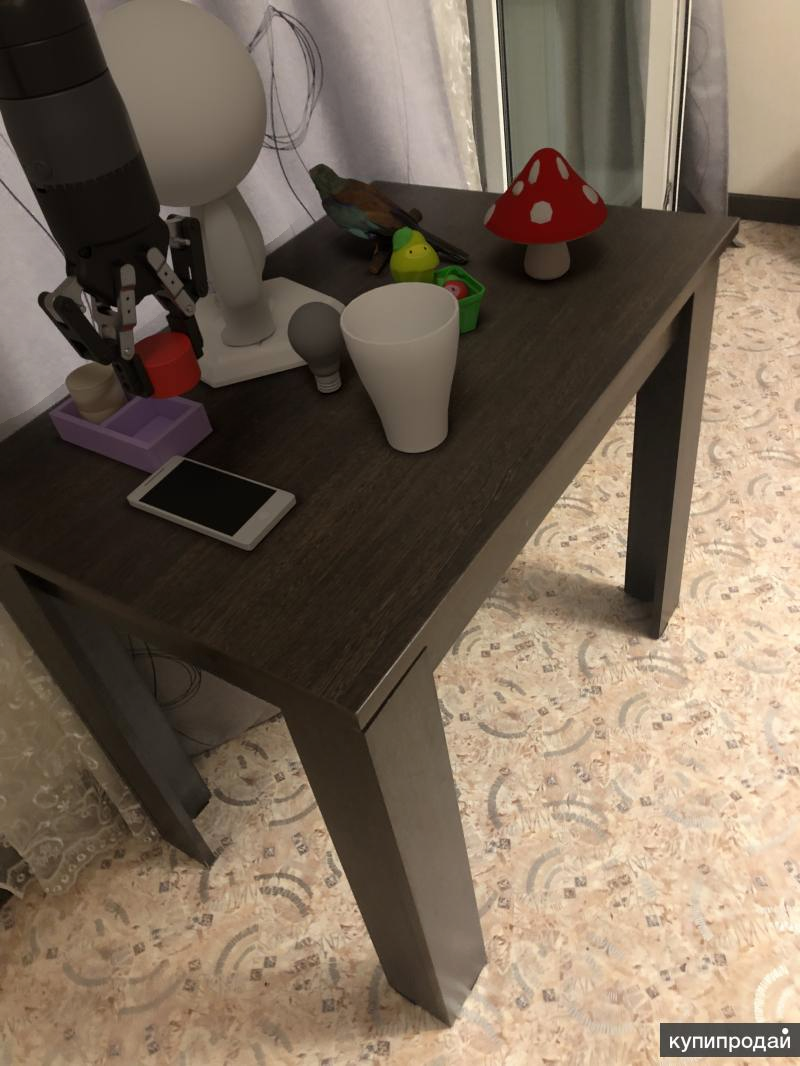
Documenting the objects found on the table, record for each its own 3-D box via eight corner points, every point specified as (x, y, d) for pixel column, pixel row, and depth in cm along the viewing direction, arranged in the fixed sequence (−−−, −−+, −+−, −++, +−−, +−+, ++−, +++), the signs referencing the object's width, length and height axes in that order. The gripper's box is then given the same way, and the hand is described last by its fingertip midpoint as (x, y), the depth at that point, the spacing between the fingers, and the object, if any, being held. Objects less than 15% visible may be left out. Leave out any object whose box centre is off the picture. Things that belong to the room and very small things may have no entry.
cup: (457, 393, 84) (445, 272, 75) (482, 455, 77) (471, 328, 67) (358, 415, 84) (333, 295, 74) (373, 478, 76) (347, 355, 67)
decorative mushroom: (478, 304, 96) (469, 176, 86) (496, 249, 106) (490, 127, 95) (600, 304, 93) (606, 170, 82) (608, 247, 102) (614, 121, 92)
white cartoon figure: (158, 318, 105) (37, 2, 80) (330, 275, 107) (264, -45, 82) (164, 401, 90) (20, 49, 66) (363, 350, 92) (294, -10, 68)
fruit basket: (399, 364, 90) (384, 268, 82) (369, 330, 96) (352, 237, 88) (490, 331, 92) (484, 235, 84) (455, 299, 98) (446, 207, 90)
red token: (170, 405, 63) (157, 372, 61) (127, 390, 65) (113, 358, 63) (214, 371, 65) (203, 338, 63) (171, 358, 68) (159, 326, 66)
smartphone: (250, 552, 71) (247, 544, 71) (127, 504, 78) (124, 497, 78) (298, 501, 75) (296, 493, 75) (177, 460, 82) (174, 453, 82)
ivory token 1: (98, 418, 83) (86, 393, 81) (67, 407, 86) (54, 383, 83) (133, 391, 86) (123, 367, 84) (102, 381, 88) (91, 357, 86)
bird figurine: (483, 237, 107) (390, 100, 98) (461, 275, 101) (359, 133, 92) (409, 281, 116) (318, 159, 107) (384, 319, 109) (285, 192, 101)
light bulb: (320, 369, 91) (301, 287, 84) (367, 377, 89) (351, 293, 82) (292, 400, 87) (270, 317, 80) (340, 409, 85) (321, 324, 78)
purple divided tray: (159, 476, 81) (147, 449, 78) (61, 439, 88) (47, 413, 86) (213, 431, 85) (203, 403, 83) (115, 398, 92) (103, 372, 90)
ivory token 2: (109, 441, 85) (98, 418, 83) (78, 429, 88) (67, 407, 86) (143, 414, 88) (133, 391, 86) (112, 404, 90) (102, 381, 88)
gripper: (124, 112, 59) (197, 321, 71) (-44, 194, 51) (69, 414, 63) (197, 120, 55) (261, 339, 67) (28, 209, 47) (134, 439, 59)
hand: (168, 374), depth 65 cm, fingers closed on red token, 5 cm apart
